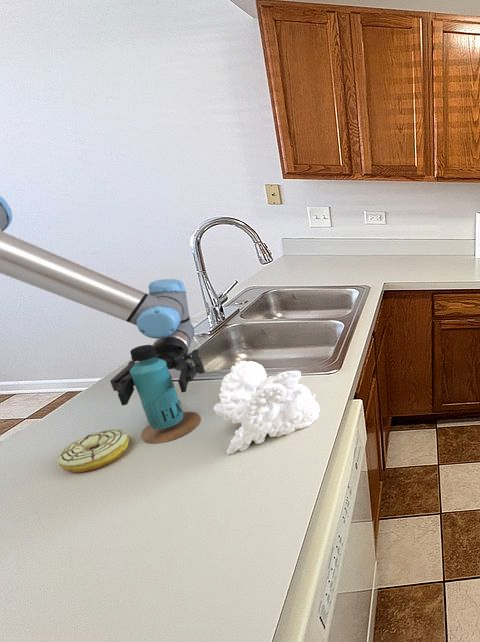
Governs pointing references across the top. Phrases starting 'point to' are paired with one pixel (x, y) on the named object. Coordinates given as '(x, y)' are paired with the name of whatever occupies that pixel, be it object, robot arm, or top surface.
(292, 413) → the white ornate sculpture
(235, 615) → the top surface
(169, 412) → the beverage bottle
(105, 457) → the decorated donut
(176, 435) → the cork coaster
